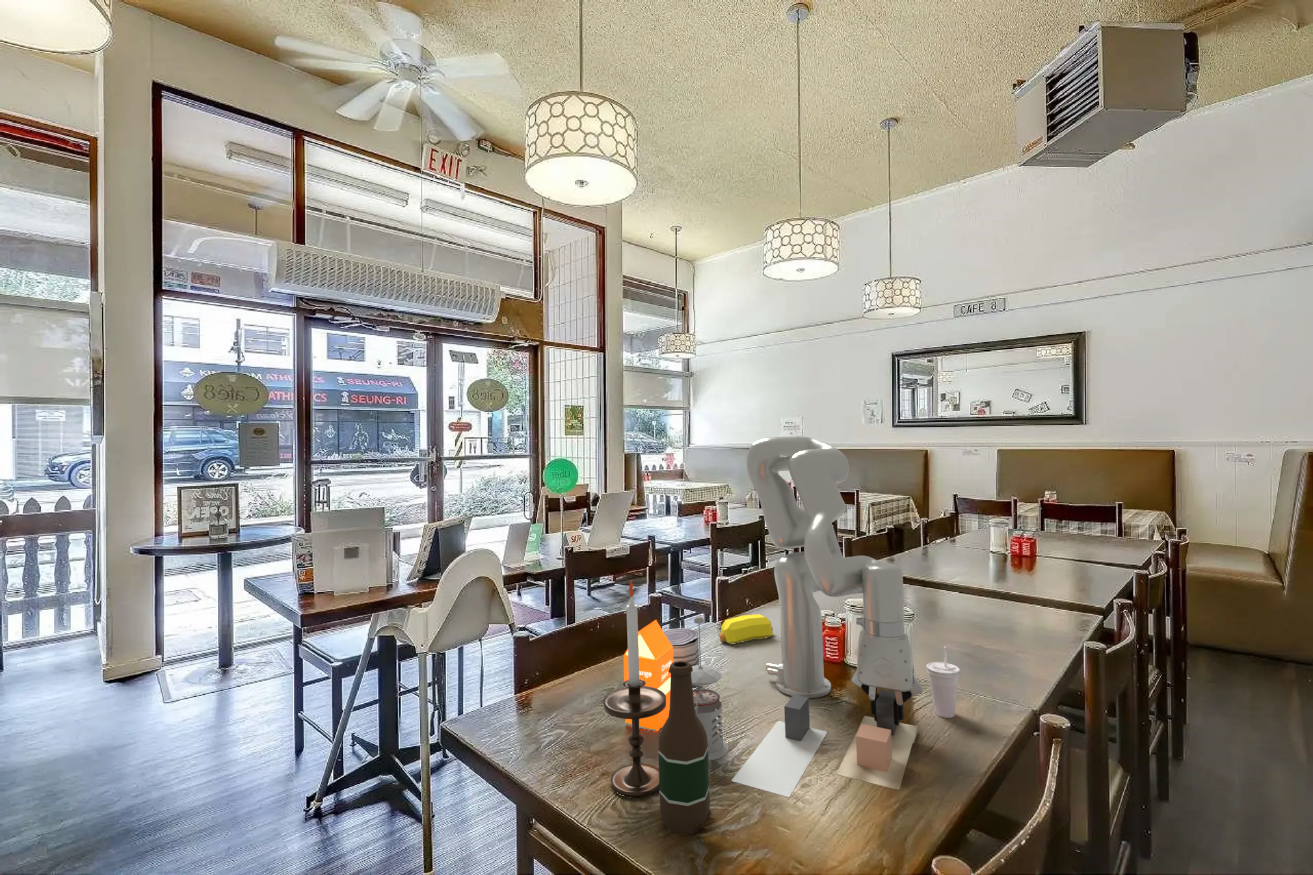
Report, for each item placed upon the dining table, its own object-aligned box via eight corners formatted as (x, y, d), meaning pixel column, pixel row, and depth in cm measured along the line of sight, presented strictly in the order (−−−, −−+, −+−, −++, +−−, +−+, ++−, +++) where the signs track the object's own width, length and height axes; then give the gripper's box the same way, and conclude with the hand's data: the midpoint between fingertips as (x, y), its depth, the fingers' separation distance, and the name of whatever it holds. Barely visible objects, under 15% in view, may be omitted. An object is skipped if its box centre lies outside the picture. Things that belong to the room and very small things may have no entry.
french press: (733, 737, 115) (729, 610, 115) (720, 769, 104) (715, 628, 104) (685, 731, 118) (681, 607, 119) (667, 761, 107) (663, 624, 108)
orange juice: (675, 713, 126) (672, 620, 126) (658, 732, 118) (655, 633, 118) (643, 707, 129) (640, 617, 130) (624, 725, 121) (621, 629, 122)
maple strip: (836, 779, 99) (834, 738, 99) (864, 720, 120) (863, 686, 120) (899, 796, 94) (897, 752, 94) (917, 731, 115) (916, 695, 115)
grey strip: (731, 786, 98) (730, 744, 98) (778, 725, 119) (777, 691, 119) (789, 803, 93) (787, 759, 93) (827, 736, 114) (826, 700, 114)
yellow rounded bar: (713, 640, 173) (726, 648, 166) (713, 617, 174) (726, 624, 166) (765, 631, 180) (779, 638, 173) (764, 609, 180) (779, 615, 173)
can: (701, 692, 136) (699, 641, 137) (652, 694, 137) (651, 642, 137) (698, 673, 148) (697, 626, 148) (654, 674, 148) (652, 627, 148)
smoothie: (966, 721, 118) (963, 652, 119) (932, 719, 120) (929, 651, 120) (956, 707, 125) (954, 641, 125) (924, 705, 126) (922, 640, 126)
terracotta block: (857, 764, 102) (855, 735, 102) (862, 751, 106) (861, 723, 106) (887, 772, 99) (886, 742, 99) (892, 758, 104) (891, 729, 104)
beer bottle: (658, 806, 94) (653, 656, 94) (706, 802, 94) (701, 653, 95) (662, 838, 86) (657, 675, 86) (714, 833, 87) (709, 672, 87)
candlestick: (663, 803, 94) (656, 587, 95) (598, 799, 96) (592, 586, 97) (673, 767, 105) (666, 572, 106) (614, 763, 107) (608, 572, 108)
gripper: (837, 626, 116) (840, 719, 116) (927, 638, 108) (931, 738, 107) (845, 616, 122) (849, 704, 122) (931, 626, 114) (935, 721, 114)
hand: (887, 719), depth 115 cm, fingers closed on maple strip, 3 cm apart
